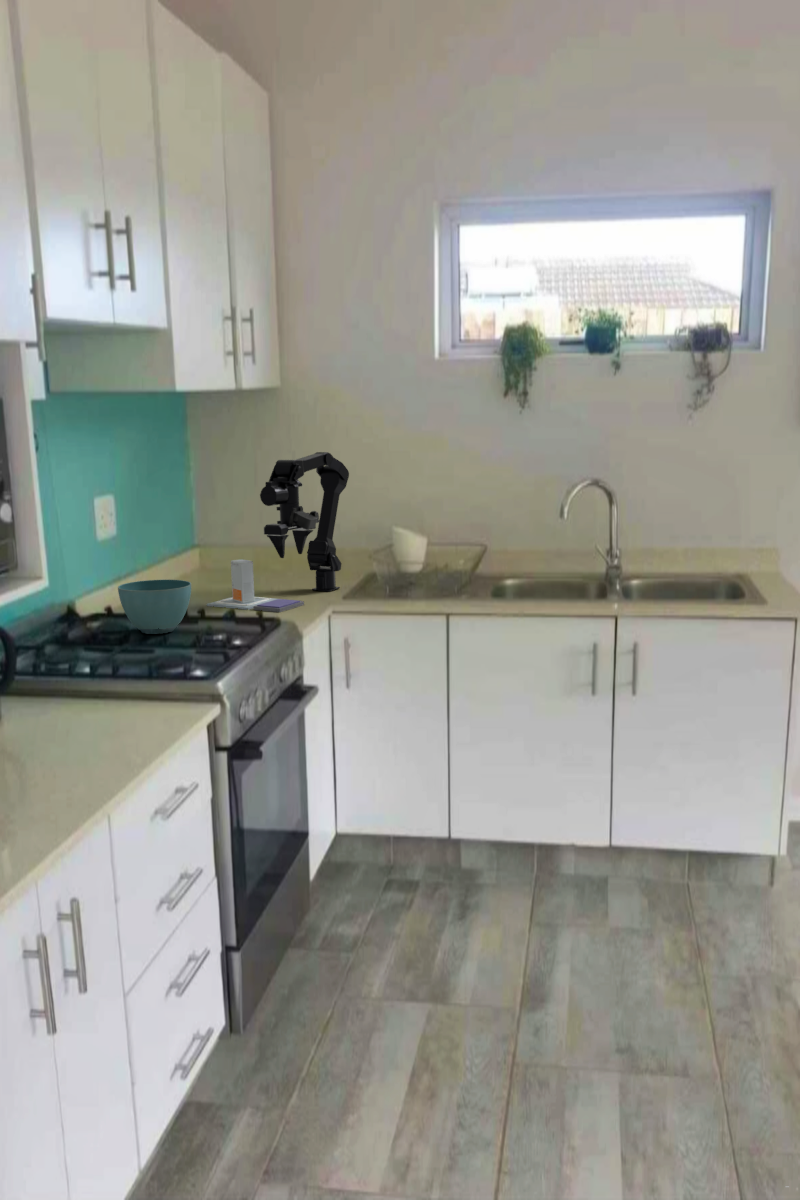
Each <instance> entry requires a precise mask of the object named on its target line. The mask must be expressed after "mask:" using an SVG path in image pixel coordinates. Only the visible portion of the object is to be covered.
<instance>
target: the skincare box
mask: <svg viewBox="0 0 800 1200" xmlns="http://www.w3.org/2000/svg"><path fill="white" fill-rule="evenodd" d="M230 571H231V572H230V573H231V576H230V577H231V593H232V596H231V597H233V601H237V602H241V603H248V602H254V601H255V597H256V596H255V583H254V579H255V578H254V562H253V560H248V559H233V560H232V559H231V560H230Z"/></svg>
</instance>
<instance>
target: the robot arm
mask: <svg viewBox="0 0 800 1200" xmlns="http://www.w3.org/2000/svg"><path fill="white" fill-rule="evenodd" d="M315 469H316V474H317V475H318V476H319V477H320V480H319V481H320V485H321V488H322V490H323V495H322V501H321V506H320V507H321V508H320V513H319V511H316V510H312V511H310V512H305V511H304V507H303V505H300V495H299V494H300V493H299V491H300V490H299V487H302V486H303V483H302V482H301V481H299V479H300V478H302V477H304V475H305V473H306V472H310V471H312V470H315ZM349 471H350V470H348V468H347V467H346V466H345V464H344V463H343V462H342V461H340V460H339V459H337V458H335V457H334V456H333V454H331V453H330V452H329V451H328V452H327V451H317V452H315V453H313V454H310V455H306V456H302V457H301V458H300V457H299V458H296V459H278V460H277V461H276V462H275V465H274V466H273V469H272V472H271V474H270V477H269V478H268V479H269V480H268V481H265V486H264V487H263V488H262V489H261V491H260V494H259V498H260V501H261V502H262V504H263V505H265V506H267V507H271V506H276V511H279V520H277V521H276V523H269V524H266V525H265V526H263V535H266V537H267V538H269V541H270V542H271V543H272V545H273V546H274V548H275V550H276V552H277V555H278V556H279V558H281V559H284V558H285V554H286V553H285V552H286V551H285V547H286V540H287V538H288V537H289V536H290V535H289V534H288V533H289V531H292V536H293V539H294V543H295V547H296V551H297V553H298V555H302V554H303V552H304V549H305V544H306V541H307V538H308V536H309V535H310V534H311V533H313V531H314V530H315V529H317V532H316V536H315V538H314V539H313V540H309V542H308V547H307V551H306V554H307V555H306V556H307V557H306V559H307V563H308V567H309V570H310V571H315V587H313V588H312V591H316V590H318V592H332V590H333V591H336V590H338V588H341V587H340V586H337V585H336V583H337V582H336V572H339V571H341V569H342V561H341V560H340V559H339V557H338V556H337V554H336V553H337V547H336V544H335V542H334V540H333V537H334V531H335V526H336V520H337V514H338V507H339V500H340V495H341V493H342V492H343V491H345V489H346V488H347V484H348V481H349V477H350V472H349ZM278 505H279V506H278ZM317 524H318V526H317ZM316 526H317V527H316ZM335 589H336V590H335Z"/></svg>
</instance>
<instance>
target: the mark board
mask: <svg viewBox="0 0 800 1200" xmlns="http://www.w3.org/2000/svg"><path fill="white" fill-rule="evenodd" d="M254 597H255V601H254V602H248V603H241V602H237V601H233V597H232V596H231V597H227V598H223V599H219V600H217V601H213V602H210V603H209V602H208V603H206V606H207V607H213V606H214V608H224V607H226V608H227V609H235V608H238V609H237V610H246V611H249V610H254V606H257V605H259V604H262V603H266V602H269V601H273V600H277V599H278V598H271V597H263V596H262V597H261V596H260V597H259V596H254ZM247 609H248V610H247Z"/></svg>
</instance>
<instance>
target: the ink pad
mask: <svg viewBox="0 0 800 1200" xmlns="http://www.w3.org/2000/svg"><path fill="white" fill-rule="evenodd" d="M276 599H277V600H273V601H269V602H266V603H262V604H259V605H257V606H254V608H253V610H254V611H261V610H262V612H263V611H264V612H273V613H281V612H284V611H289V610H292V609H295V608H298V607H302V606H305V602H304V601H302V600H295V599H284V598H276Z"/></svg>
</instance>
